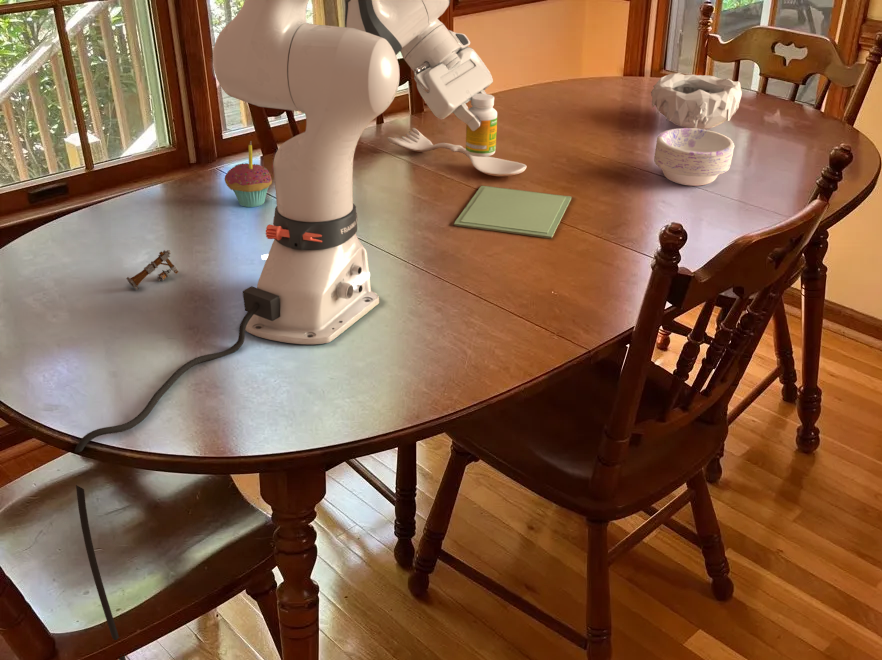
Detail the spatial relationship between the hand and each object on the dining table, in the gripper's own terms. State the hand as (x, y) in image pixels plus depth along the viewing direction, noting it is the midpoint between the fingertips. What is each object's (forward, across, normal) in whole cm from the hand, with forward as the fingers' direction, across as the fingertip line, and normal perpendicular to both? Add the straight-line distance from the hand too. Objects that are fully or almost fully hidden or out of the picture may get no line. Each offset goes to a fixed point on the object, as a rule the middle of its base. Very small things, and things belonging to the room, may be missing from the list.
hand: (485, 122), depth 161 cm
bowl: (+30, +70, -6) cm, 77 cm away
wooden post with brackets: (-14, -50, +38) cm, 64 cm away
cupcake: (-17, -15, +40) cm, 46 cm away
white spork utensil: (+2, +22, +22) cm, 31 cm away
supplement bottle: (+4, 0, +4) cm, 6 cm away
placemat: (+15, +3, +8) cm, 17 cm away
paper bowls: (+34, +35, -11) cm, 50 cm away
